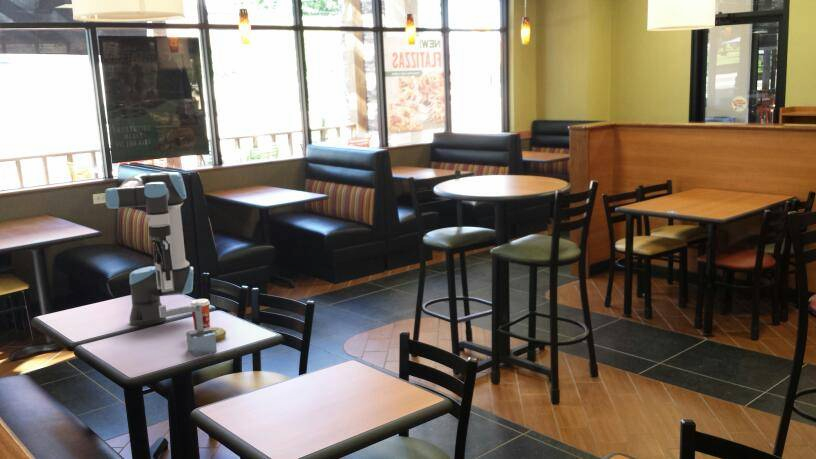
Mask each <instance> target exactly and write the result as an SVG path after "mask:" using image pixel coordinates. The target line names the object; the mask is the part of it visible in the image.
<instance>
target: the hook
mask: <svg viewBox="0 0 816 459" xmlns="http://www.w3.org/2000/svg"><path fill="white" fill-rule="evenodd" d="M154 266H155V270H156V279H157V289H162V292H168V291H174V284H173V274H172V270H171V277H172V287H173V288H172V289H166V290H165V289H164V279H163V273H162V271H163V265H162V261H160V262H155V265H154ZM167 268H168V267H167Z"/></svg>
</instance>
